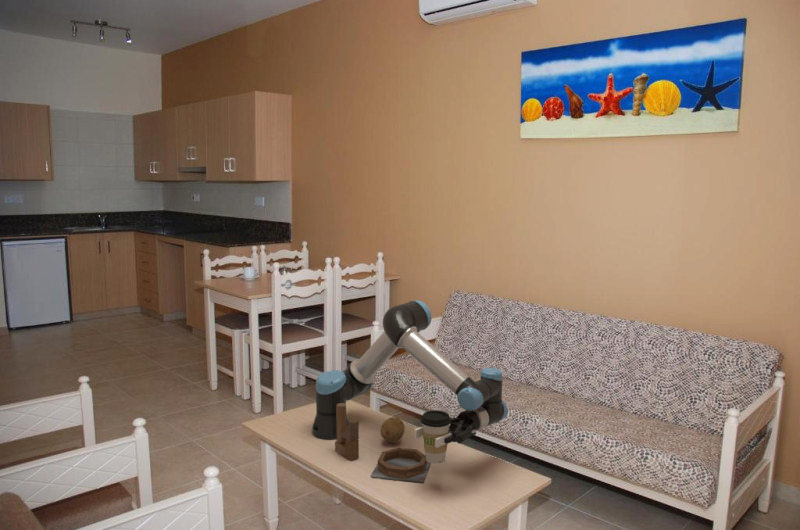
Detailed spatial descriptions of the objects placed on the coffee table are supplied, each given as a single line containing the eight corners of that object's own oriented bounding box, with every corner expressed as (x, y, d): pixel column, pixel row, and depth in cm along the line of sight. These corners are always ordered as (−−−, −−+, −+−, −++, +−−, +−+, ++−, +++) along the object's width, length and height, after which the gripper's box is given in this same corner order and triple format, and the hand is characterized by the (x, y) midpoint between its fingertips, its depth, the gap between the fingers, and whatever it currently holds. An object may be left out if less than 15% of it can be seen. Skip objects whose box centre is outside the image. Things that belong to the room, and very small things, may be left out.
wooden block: (350, 461, 216) (350, 412, 213) (334, 450, 224) (333, 404, 221) (359, 458, 218) (358, 410, 215) (343, 448, 226) (342, 401, 224)
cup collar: (383, 454, 221) (383, 444, 220) (432, 459, 217) (432, 449, 217) (370, 477, 204) (370, 467, 203) (423, 483, 200) (423, 473, 199)
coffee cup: (420, 452, 202) (420, 409, 200) (449, 452, 202) (450, 409, 200) (420, 466, 192) (420, 421, 190) (451, 466, 192) (451, 421, 190)
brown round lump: (384, 449, 225) (384, 423, 223) (377, 440, 233) (377, 415, 232) (407, 446, 228) (407, 420, 226) (399, 436, 236) (399, 412, 235)
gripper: (497, 440, 200) (449, 461, 185) (449, 421, 216) (402, 439, 201) (497, 418, 199) (450, 437, 184) (449, 400, 215) (402, 417, 200)
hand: (425, 438), depth 193 cm, fingers closed on coffee cup, 9 cm apart
